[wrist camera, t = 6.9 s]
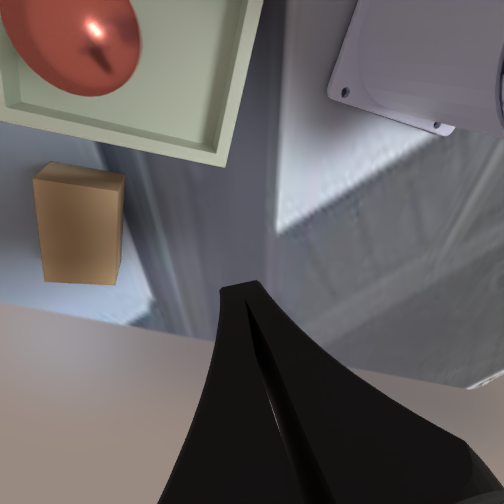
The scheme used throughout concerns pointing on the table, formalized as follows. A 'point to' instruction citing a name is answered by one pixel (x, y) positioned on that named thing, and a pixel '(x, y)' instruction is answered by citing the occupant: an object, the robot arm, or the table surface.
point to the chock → (79, 223)
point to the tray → (152, 84)
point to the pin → (76, 42)
